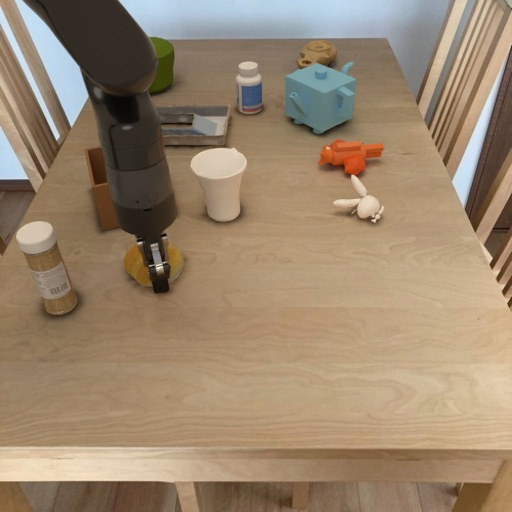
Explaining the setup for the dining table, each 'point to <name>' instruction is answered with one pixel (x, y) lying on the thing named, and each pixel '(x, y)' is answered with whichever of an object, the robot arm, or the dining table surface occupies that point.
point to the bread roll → (140, 272)
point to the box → (100, 187)
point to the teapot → (320, 96)
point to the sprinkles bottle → (47, 266)
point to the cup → (220, 180)
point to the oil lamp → (317, 54)
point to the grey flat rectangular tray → (195, 124)
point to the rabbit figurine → (361, 202)
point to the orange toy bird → (350, 155)
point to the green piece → (162, 64)
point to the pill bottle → (249, 88)
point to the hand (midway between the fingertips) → (161, 289)
